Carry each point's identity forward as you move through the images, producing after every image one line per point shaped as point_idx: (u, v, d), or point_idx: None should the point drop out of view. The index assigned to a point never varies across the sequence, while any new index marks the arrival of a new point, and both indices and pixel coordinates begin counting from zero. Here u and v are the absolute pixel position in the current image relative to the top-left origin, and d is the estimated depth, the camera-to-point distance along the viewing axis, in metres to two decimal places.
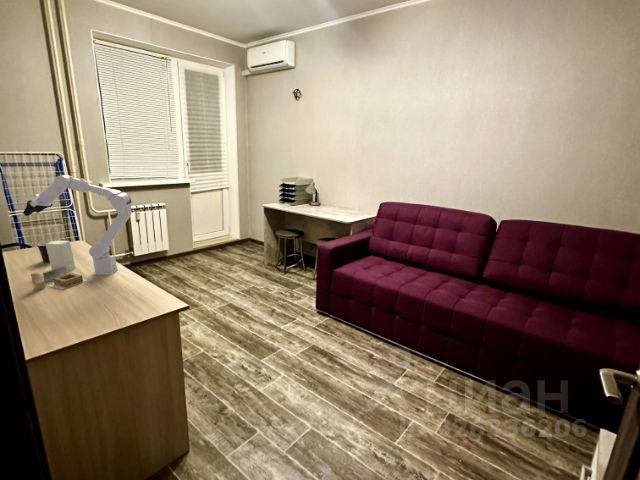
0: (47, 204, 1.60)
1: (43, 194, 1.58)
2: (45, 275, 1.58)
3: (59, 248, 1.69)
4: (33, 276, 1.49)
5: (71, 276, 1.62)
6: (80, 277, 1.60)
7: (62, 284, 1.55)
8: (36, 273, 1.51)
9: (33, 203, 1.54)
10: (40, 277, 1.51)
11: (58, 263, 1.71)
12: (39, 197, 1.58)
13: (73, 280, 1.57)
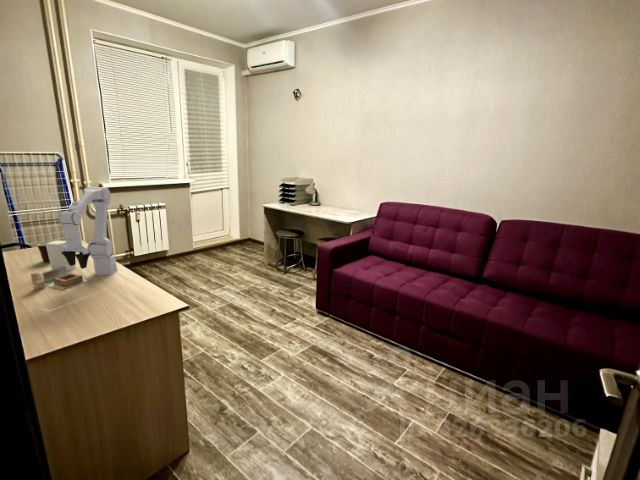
0: (82, 246, 1.53)
1: (74, 241, 1.48)
2: (45, 275, 1.58)
3: (59, 248, 1.69)
4: (33, 276, 1.49)
5: (71, 276, 1.62)
6: (80, 277, 1.60)
7: (62, 284, 1.55)
8: (36, 273, 1.51)
9: (85, 250, 1.49)
10: (40, 277, 1.51)
11: (58, 263, 1.71)
12: (74, 247, 1.49)
13: (73, 280, 1.57)
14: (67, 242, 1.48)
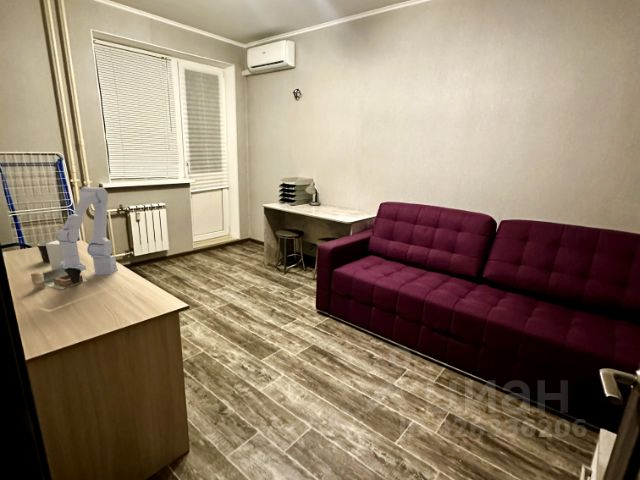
0: None
1: (72, 258, 1.52)
2: (45, 275, 1.58)
3: (59, 248, 1.69)
4: (33, 276, 1.49)
5: None
6: (80, 277, 1.60)
7: (62, 284, 1.55)
8: (36, 273, 1.51)
9: (83, 267, 1.52)
10: (40, 277, 1.51)
11: (58, 263, 1.71)
12: (72, 263, 1.52)
13: None
14: (65, 259, 1.51)
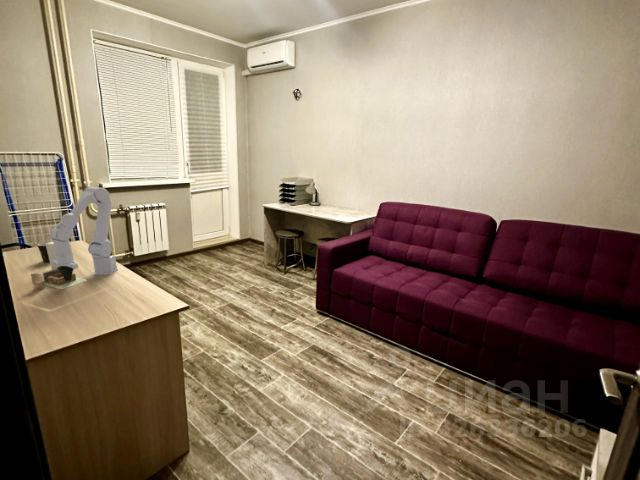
0: (72, 260, 1.58)
1: (64, 256, 1.54)
2: (45, 275, 1.58)
3: None
4: (33, 276, 1.49)
5: None
6: (73, 275, 1.62)
7: (55, 282, 1.57)
8: (36, 273, 1.51)
9: (75, 265, 1.54)
10: (40, 277, 1.51)
11: None
12: (64, 262, 1.54)
13: None
14: (57, 257, 1.53)
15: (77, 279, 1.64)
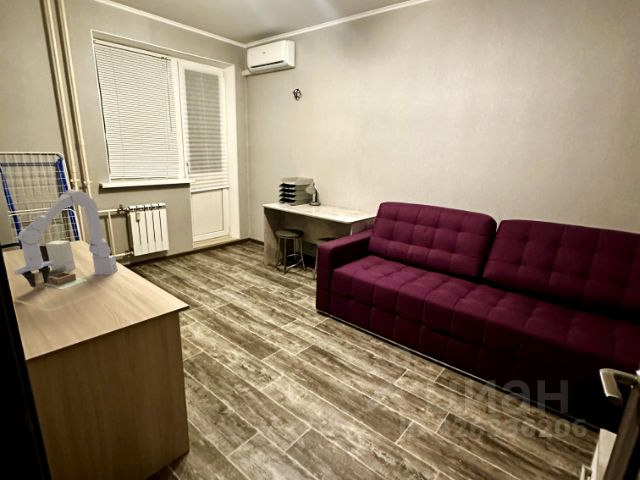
0: None
1: (41, 257, 1.51)
2: None
3: (59, 248, 1.69)
4: None
5: (64, 274, 1.64)
6: (73, 275, 1.62)
7: (55, 282, 1.57)
8: (36, 273, 1.51)
9: None
10: (40, 277, 1.51)
11: (58, 263, 1.71)
12: (42, 262, 1.51)
13: (66, 278, 1.59)
14: (37, 259, 1.48)
15: (77, 279, 1.64)
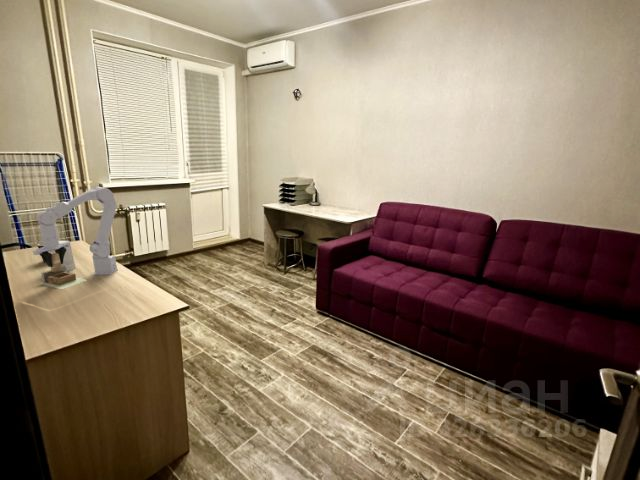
0: None
1: None
2: (45, 275, 1.58)
3: None
4: (51, 257, 1.54)
5: (64, 274, 1.64)
6: (73, 275, 1.62)
7: (55, 282, 1.57)
8: (53, 254, 1.56)
9: None
10: (57, 258, 1.56)
11: None
12: None
13: (66, 278, 1.59)
14: (55, 240, 1.53)
15: (77, 279, 1.64)
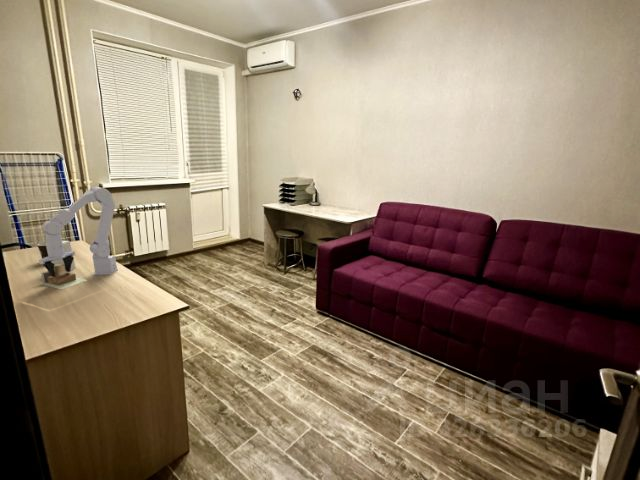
0: None
1: (63, 247, 1.59)
2: (45, 275, 1.58)
3: None
4: (57, 268, 1.57)
5: None
6: (73, 275, 1.62)
7: (55, 282, 1.57)
8: (59, 265, 1.59)
9: None
10: (62, 269, 1.59)
11: (58, 263, 1.71)
12: (64, 252, 1.59)
13: (66, 278, 1.59)
14: (60, 250, 1.56)
15: (77, 279, 1.64)
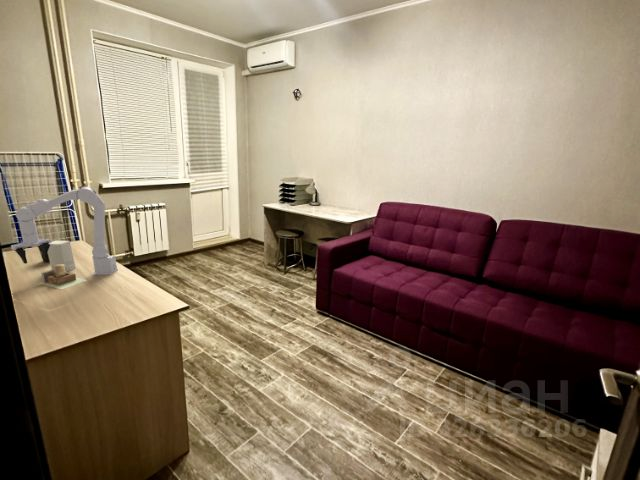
0: None
1: (37, 234, 1.57)
2: (45, 275, 1.58)
3: (59, 248, 1.69)
4: (57, 268, 1.57)
5: None
6: (73, 275, 1.62)
7: (55, 282, 1.57)
8: (59, 265, 1.59)
9: None
10: (63, 269, 1.59)
11: (58, 263, 1.71)
12: (38, 239, 1.57)
13: (66, 278, 1.59)
14: (33, 236, 1.54)
15: (77, 279, 1.64)
